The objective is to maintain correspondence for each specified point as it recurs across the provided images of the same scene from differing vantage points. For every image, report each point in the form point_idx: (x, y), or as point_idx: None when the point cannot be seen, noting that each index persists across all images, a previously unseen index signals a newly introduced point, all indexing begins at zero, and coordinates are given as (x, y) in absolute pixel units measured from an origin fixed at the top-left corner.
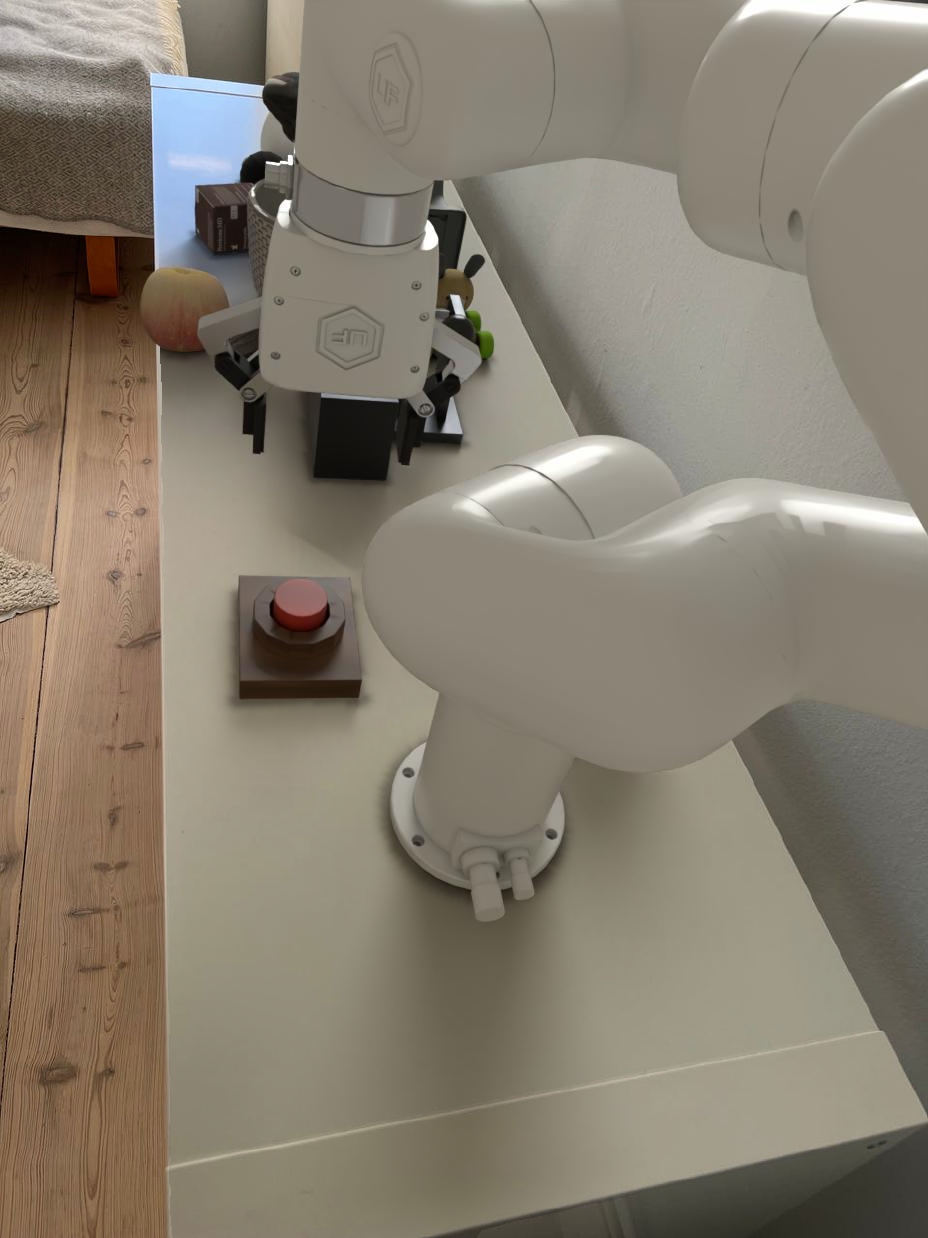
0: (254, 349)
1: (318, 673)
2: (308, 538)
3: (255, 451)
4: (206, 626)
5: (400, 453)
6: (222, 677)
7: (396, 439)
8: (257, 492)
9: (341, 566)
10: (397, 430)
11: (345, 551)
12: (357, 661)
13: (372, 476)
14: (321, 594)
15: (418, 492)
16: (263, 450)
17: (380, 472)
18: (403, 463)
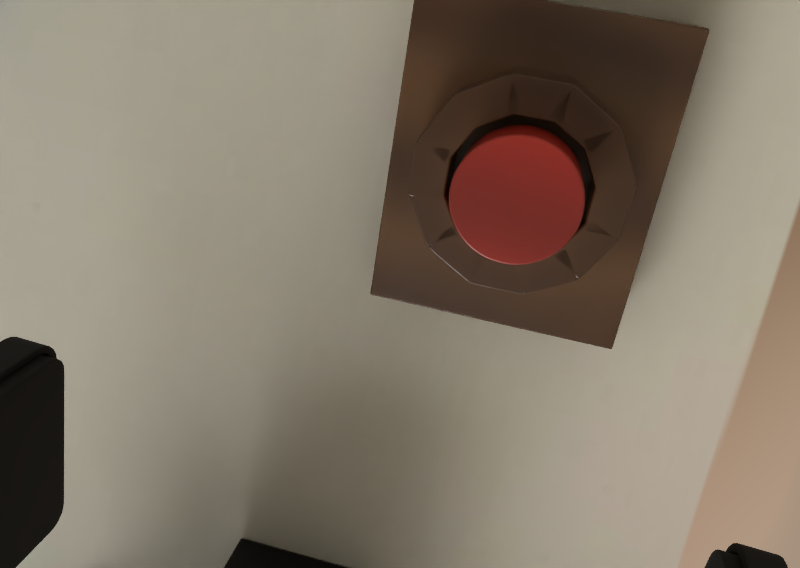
0: None
1: (514, 18)
2: (424, 435)
3: (773, 559)
4: (702, 251)
5: (21, 386)
6: (714, 99)
7: (51, 497)
8: (493, 565)
9: (376, 352)
10: (23, 535)
11: (359, 387)
12: (413, 42)
13: (264, 551)
14: (462, 201)
15: (186, 497)
16: (725, 557)
17: (246, 555)
18: (35, 344)
